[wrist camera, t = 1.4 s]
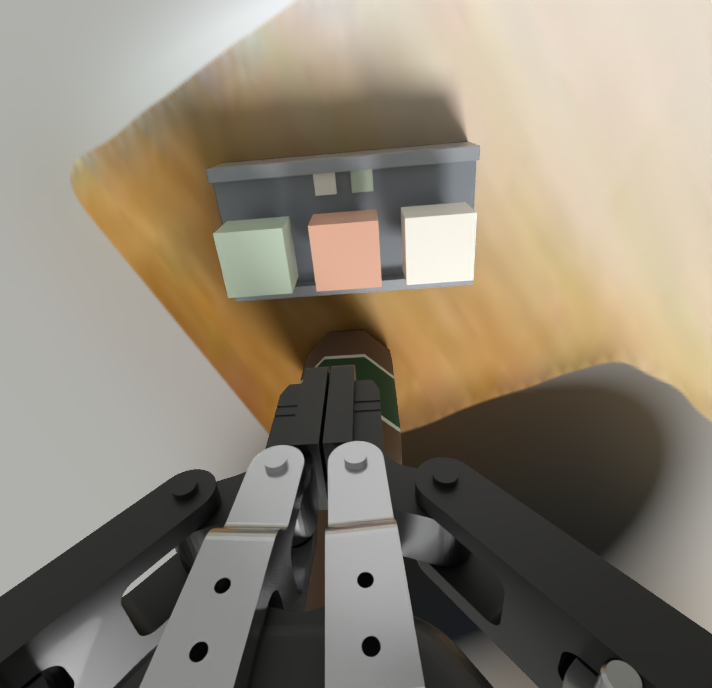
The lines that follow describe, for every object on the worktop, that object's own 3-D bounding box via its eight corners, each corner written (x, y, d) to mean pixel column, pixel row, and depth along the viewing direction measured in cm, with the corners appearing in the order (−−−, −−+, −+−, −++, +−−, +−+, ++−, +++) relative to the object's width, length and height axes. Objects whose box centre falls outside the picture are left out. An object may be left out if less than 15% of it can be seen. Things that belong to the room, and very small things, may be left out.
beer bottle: (377, 409, 40) (394, 743, 19) (295, 387, 39) (220, 715, 18) (407, 339, 37) (470, 655, 16) (319, 313, 36) (258, 616, 15)
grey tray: (468, 141, 29) (487, 148, 25) (463, 269, 34) (478, 294, 29) (220, 163, 30) (196, 173, 26) (246, 285, 34) (230, 311, 30)
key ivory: (465, 202, 27) (476, 212, 24) (462, 264, 29) (473, 280, 26) (400, 207, 27) (404, 218, 24) (402, 268, 29) (406, 285, 26)
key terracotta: (376, 209, 27) (378, 220, 24) (380, 270, 29) (381, 286, 26) (313, 214, 27) (307, 226, 25) (320, 274, 29) (316, 291, 27)
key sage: (289, 216, 27) (281, 228, 25) (298, 276, 29) (292, 293, 27) (226, 221, 28) (212, 233, 25) (240, 280, 29) (228, 297, 27)
